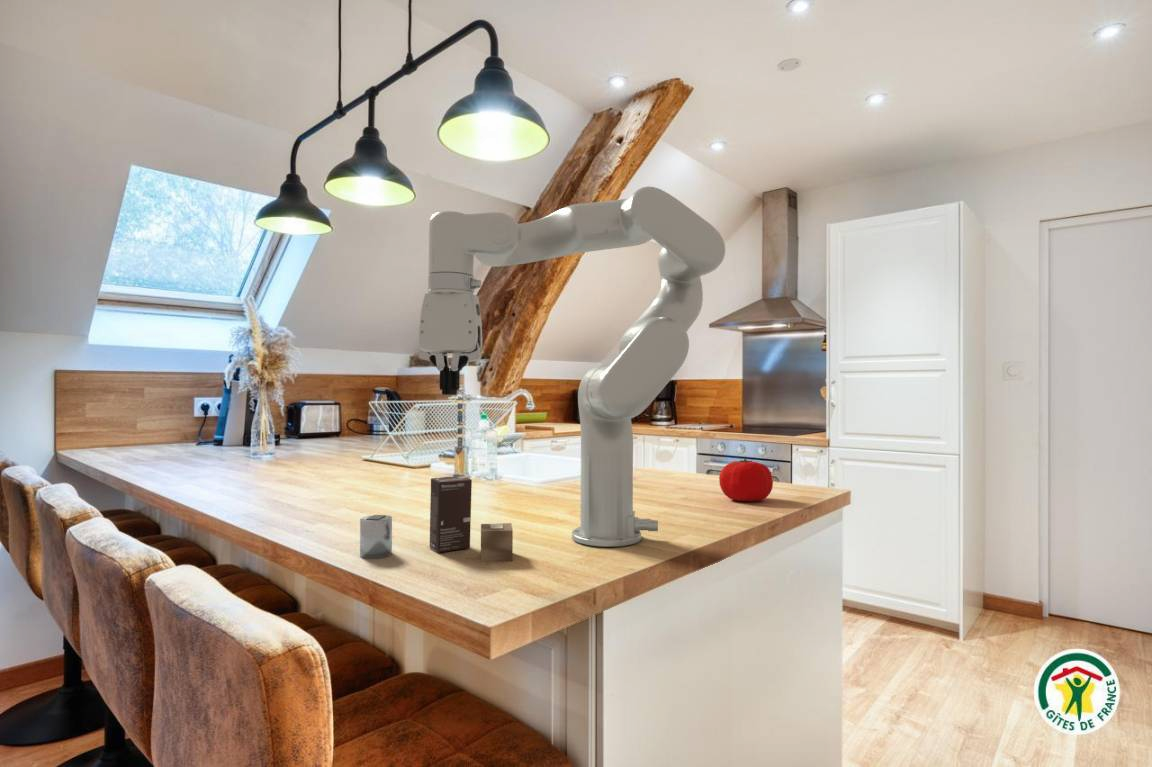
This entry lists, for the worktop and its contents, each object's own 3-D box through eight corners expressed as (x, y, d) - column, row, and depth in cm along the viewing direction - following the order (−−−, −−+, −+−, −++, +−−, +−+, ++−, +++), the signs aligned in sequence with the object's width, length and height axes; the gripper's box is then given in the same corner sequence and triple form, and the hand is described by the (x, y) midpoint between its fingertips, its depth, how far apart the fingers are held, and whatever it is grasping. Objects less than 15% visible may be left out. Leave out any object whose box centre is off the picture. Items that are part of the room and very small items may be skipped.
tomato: (778, 505, 143) (779, 461, 143) (724, 504, 144) (724, 460, 144) (764, 496, 155) (764, 455, 155) (713, 495, 155) (714, 455, 155)
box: (438, 554, 101) (438, 481, 101) (429, 548, 105) (429, 477, 105) (472, 549, 105) (472, 478, 105) (462, 543, 109) (462, 475, 108)
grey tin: (396, 551, 103) (396, 514, 103) (384, 559, 98) (384, 520, 98) (368, 550, 104) (368, 513, 104) (354, 558, 99) (354, 519, 99)
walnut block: (511, 553, 103) (511, 521, 103) (512, 561, 98) (512, 529, 98) (480, 554, 102) (481, 522, 102) (480, 562, 97) (480, 530, 97)
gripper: (499, 290, 108) (497, 394, 108) (416, 290, 109) (415, 393, 109) (488, 283, 100) (486, 395, 100) (399, 283, 102) (398, 394, 102)
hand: (449, 394), depth 105 cm, fingers closed
